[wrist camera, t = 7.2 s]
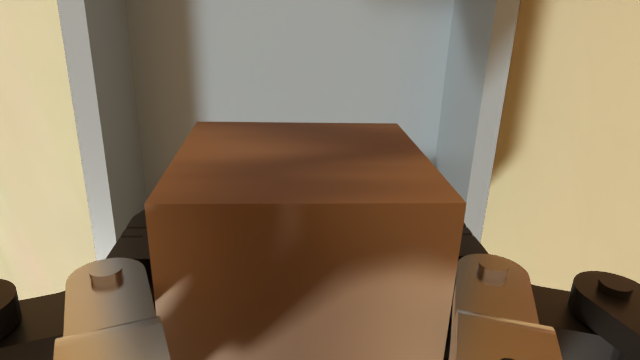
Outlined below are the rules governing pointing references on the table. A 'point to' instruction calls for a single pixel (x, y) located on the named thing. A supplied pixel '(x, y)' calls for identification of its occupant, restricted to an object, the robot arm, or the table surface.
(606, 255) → the table surface
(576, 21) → the table surface
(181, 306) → the cube
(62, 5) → the tote
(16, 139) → the table surface
